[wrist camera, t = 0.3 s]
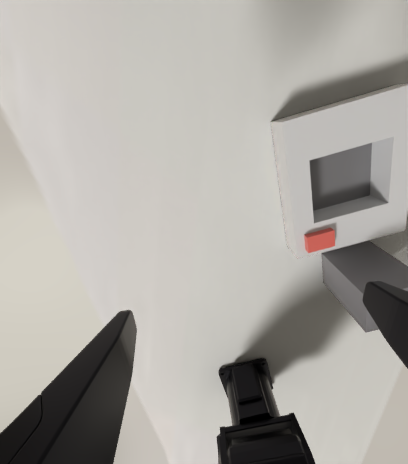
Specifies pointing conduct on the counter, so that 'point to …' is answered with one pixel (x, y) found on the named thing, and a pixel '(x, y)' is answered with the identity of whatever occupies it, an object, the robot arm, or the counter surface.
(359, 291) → the plug
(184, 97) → the counter surface
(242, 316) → the counter surface
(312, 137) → the socket
